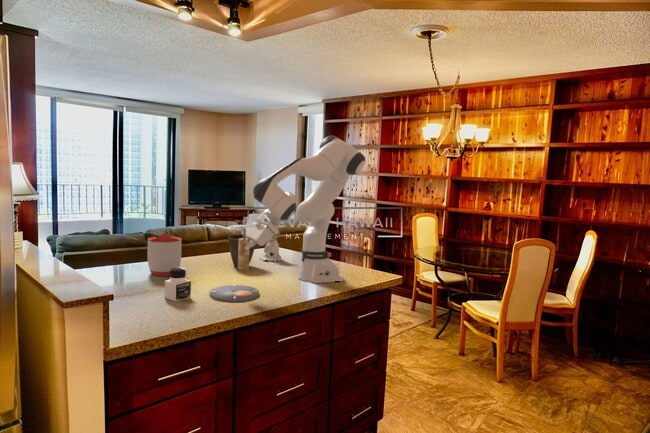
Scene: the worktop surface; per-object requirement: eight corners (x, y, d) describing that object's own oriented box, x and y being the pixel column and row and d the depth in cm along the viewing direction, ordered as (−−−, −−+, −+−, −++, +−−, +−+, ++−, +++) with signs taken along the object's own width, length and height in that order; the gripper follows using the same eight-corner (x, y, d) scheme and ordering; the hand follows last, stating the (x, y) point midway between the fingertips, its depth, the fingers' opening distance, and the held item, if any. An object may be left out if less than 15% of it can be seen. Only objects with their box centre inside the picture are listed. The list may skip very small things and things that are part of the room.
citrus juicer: (176, 268, 213) (176, 229, 211) (185, 276, 199) (186, 234, 197) (143, 270, 205) (143, 230, 202) (150, 279, 190) (150, 235, 188)
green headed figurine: (276, 256, 254) (277, 226, 252) (284, 261, 243) (286, 230, 241) (257, 257, 249) (258, 227, 247) (264, 262, 237) (266, 230, 235)
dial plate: (257, 287, 186) (257, 284, 186) (260, 301, 167) (260, 298, 166) (210, 287, 182) (210, 284, 181) (208, 302, 162) (208, 298, 162)
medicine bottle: (176, 302, 160) (176, 271, 159) (164, 298, 164) (164, 268, 163) (190, 297, 166) (191, 268, 165) (179, 294, 170) (179, 265, 169)
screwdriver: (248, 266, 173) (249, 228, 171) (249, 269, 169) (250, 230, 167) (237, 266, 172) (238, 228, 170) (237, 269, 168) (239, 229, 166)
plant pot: (261, 266, 227) (262, 237, 225) (241, 271, 214) (243, 240, 212) (241, 262, 235) (242, 233, 233) (221, 266, 222) (222, 236, 220)
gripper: (253, 215, 181) (230, 238, 177) (270, 221, 163) (245, 247, 159) (262, 225, 183) (240, 248, 180) (280, 232, 165) (256, 258, 162)
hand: (242, 248), depth 169 cm, fingers closed on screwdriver, 4 cm apart
